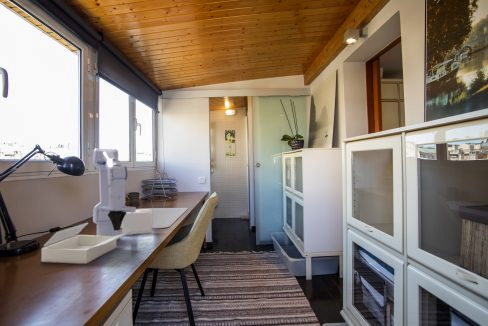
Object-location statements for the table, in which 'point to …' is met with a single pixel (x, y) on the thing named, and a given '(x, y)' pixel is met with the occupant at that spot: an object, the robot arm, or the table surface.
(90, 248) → the flap
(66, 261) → the carton
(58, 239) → the flap
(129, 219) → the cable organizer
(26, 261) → the table surface
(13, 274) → the table surface
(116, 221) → the robot arm
